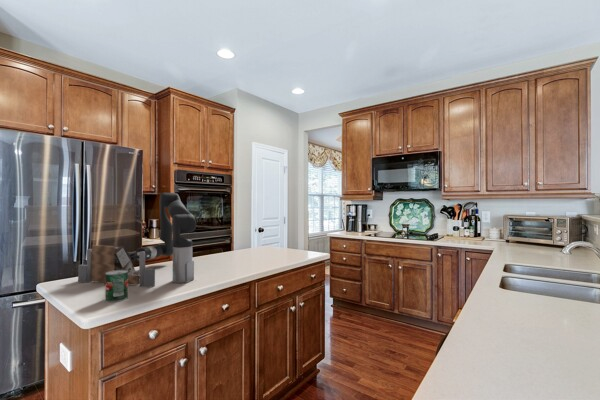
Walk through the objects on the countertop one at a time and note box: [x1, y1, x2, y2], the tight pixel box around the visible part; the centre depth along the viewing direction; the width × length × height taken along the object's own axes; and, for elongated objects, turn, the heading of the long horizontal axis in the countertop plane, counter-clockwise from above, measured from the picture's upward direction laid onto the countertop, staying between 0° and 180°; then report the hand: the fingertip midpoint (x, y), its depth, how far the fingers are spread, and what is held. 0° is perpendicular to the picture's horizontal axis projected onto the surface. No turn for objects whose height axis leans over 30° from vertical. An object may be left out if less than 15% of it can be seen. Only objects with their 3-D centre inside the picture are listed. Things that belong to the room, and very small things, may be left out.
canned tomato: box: [104, 270, 129, 303], centre depth 121 cm, size 8×8×11 cm
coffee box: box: [114, 245, 136, 275], centre depth 150 cm, size 9×6×16 cm
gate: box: [91, 244, 139, 286], centre depth 142 cm, size 26×1×18 cm, turn 78°
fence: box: [77, 248, 156, 288], centre depth 142 cm, size 42×2×16 cm, turn 78°
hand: (124, 258), depth 153 cm, fingers open, 8 cm apart
